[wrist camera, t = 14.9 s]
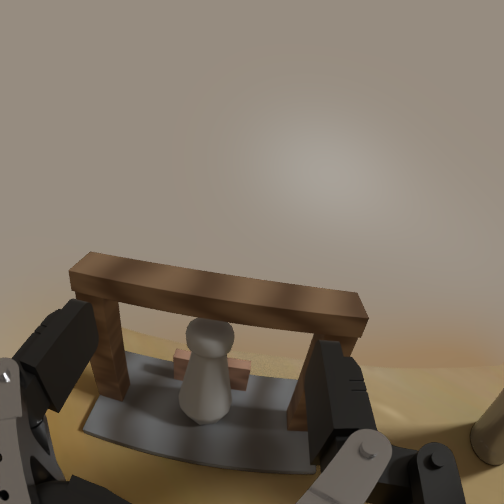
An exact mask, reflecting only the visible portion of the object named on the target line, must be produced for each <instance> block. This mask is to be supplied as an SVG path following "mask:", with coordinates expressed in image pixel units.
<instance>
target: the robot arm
mask: <svg viewBox="0 0 504 504" xmlns="http://www.w3.org/2000/svg"><path fill="white" fill-rule="evenodd" d="M98 342H99V334H98V330H97V325H96V321H95V316H94V311H93V306H92V304H91V303H89V302H85V301H81V300H77V299H71V300H69V301H68V303H67V304H66V305H65V306H64V307H63V308H62V309H58V310H56V311H55V312H53V313H51V314H50V315H48V316H47V317H46V318H45V319H44V321H43V322H42V323H41V325H40V326H39V327H38V328H37V329H36V330H35V332H34V333H32V334H31V336H30V337H29V338H28V339H27V340H26V342H25V343H24V344H23V345H22V346H21V348H20V349H19V350H18V351H17V352H16V354H15V355H14V356H13V357H12V358H0V504H131V503H129V502H128V501H126V500H124V499H122V498H121V497H119V496H117V495H116V494H114V493H112V492H111V491H109V490H108V489H106V488H104V487H102V486H99V485H96V484H94V483H91V482H89V481H86V480H84V479H81V478H79V477H77V476H74V475H72V476H71V479H70V481H66V480H65V477H64V475H63V473H62V471H61V469H60V467H59V466H58V464H57V461H56V458H55V454H54V450H53V446H52V442H51V437H50V432H49V427H48V422H47V418H46V415H45V413H46V411H47V409H50V410H52V411H55V412H57V413H59V412H60V410H61V408H62V407H63V405H64V403H65V401H66V400H67V398H68V396H69V394H70V393H71V391H72V389H73V387H74V386H75V384H76V382H77V381H78V379H79V377H80V376H81V374H82V372H83V371H84V369H85V367H86V366H87V364H88V363H89V361H90V359H91V358H92V356H93V354H94V353H95V351H96V349H97V347H98ZM304 389H305V401H306V414H307V427H308V442H309V458H310V465H320V469H321V475H320V476H319V477H318V478H317V480H316V481H315V482H314V483H313V484H312V486H311V487H310V488H309V489H308V490H307V491H306V493H305V494H304V495H303V496H302V497H301V498H300V499H299V500H298V502H297V503H296V504H364V503H365V502H366V503H372V504H466V502H465V497H464V493H463V488H462V484H461V480H460V476H459V472H458V469H457V465H456V461H455V458H454V455H453V453H452V452H451V450H450V449H449V448H448V447H447V446H445V445H443V444H441V443H436V442H432V443H428V444H426V445H424V446H423V447H422V448H421V449H420V450H419V451H417V450H411V449H406V448H401V447H396V446H393V445H391V443H390V441H389V440H388V439H387V437H386V436H385V435H383V434H382V433H380V432H378V431H377V428H376V424H375V420H374V416H373V412H372V408H371V404H370V400H369V397H368V393H367V392H366V390H367V389H366V386H365V382H364V378H363V375H362V371H361V368H360V367H359V365H358V364H357V363H356V362H355V360H354V359H353V358H352V357H344V356H343V352H342V348H341V344H340V342H339V341H327V340H317V341H316V343H315V346H314V349H313V352H312V355H311V358H310V361H309V364H308V367H307V370H306V374H305V380H304ZM470 436H471V443H472V447H473V449H474V451H475V452H476V454H477V455H478V456H479V457H480V458H481V459H482V460H483V461H484V462H486V463H488V464H491V465H501V464H503V463H504V389H503V390H502V391H501V393H500V394H499V395H498V397H497V398H496V399H495V401H494V402H493V403H492V404H491V406H490V407H489V408H488V409H487V410H486V412H485V413H484V414H483V415H482V416H481V418H480V419H479V420H478V421H477V422H476V423H475V425H474V426H473V427H472V430H471V435H470Z"/></svg>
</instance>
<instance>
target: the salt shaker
mask: <svg viewBox="0 0 504 504" xmlns="http://www.w3.org/2000/svg"><path fill="white" fill-rule="evenodd" d="M186 341H187V346H188V348H189V349H190V350H191V351H192V352H191V355H190V359H189V362H188V366H187V369H186V372H185V375H184V379H183V382H182V385H181V389H180V392H179V395H178V396H179V404H180V408H181V409H182V410H183V411H184V412H185V414H186V415H187V416H188V417H190V418H191V419H192V420H194V421H195V422H196V423H198V424H199V425H204V424H215V423H217V422H218V421H219V420H220V419H221V418H222V417H223V416H225V415H226V414H227V413H228V412H229V409H230V406H231V403H232V395H231V387H230V378H229V369H228V360H227V353H229V352H230V350H231V348H232V345H233V342H234V331H233V328H232V326H231V325H230V324H229V323H228V322H223V321H217V320H210V319H204V318H199V317H198V318H196V319H194V320H193V321H191V322H190V323H189V325H188V327H187V330H186Z"/></svg>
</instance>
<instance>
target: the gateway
mask: <svg viewBox="0 0 504 504" xmlns="http://www.w3.org/2000/svg"><path fill="white" fill-rule="evenodd" d="M69 276H70V283H71V289H72V291H75V294H76V299H77V300H81V301H85V302H89V303H91V304H92V306H93V311H94V316H95V321H96V325H97V330H98V334H99V342H98V347H97V349H96V351H95V353H94V354H93V356H92V358H91V359H90V363H91V367H92V370H93V374H94V377H95V381H96V384H97V387H98V390H99V394H100V396H99V398H98V400H97V402H96V404H95V406H94V407H93V409H92V411H91V413H90V415H89V417H88V419H87V421H86V424H85V426H84V428H83V431H84V433H86V434H89V435H92V436H94V437H97V438H100V439H103V440H106V441H109V442H112V443H115V444H118V445H121V446H124V447H127V448H131V449H134V450H138V451H141V452H145V453H149V454H153V455H157V456H161V457H165V458H169V459H174V460H178V461H183V462H188V463H194V464H199V465H205V466H211V467H218V468H225V469H233V470H241V471H251V472H263V473H280V474H315V472H316V465H310V458H309V442H308V427H307V414H306V401H305V389H304V380H305V374H306V370H307V367H308V364H309V361H310V358H311V355H312V352H313V349H314V346H315V343H316V341H317V340H327V341H339V342H340V344H341V348H342V352H343V356H344V357H350V355H351V353H352V351H353V348H354V346H355V344H356V341H357V339H358V337H360V338H361V336H362V334H363V332H364V329H365V327H366V324H367V322H368V319H369V317H368V315H367V313H366V311H365V309H364V306H363V304H362V302H361V300H360V298H359V296H358V293H355V292H347V291H339V290H331V289H324V288H317V287H309V286H302V285H295V284H288V283H280V282H273V281H267V280H259V279H253V278H246V277H240V276H233V275H226V274H220V273H213V272H207V271H201V270H194V269H188V268H182V267H176V266H170V265H164V264H158V263H152V262H146V261H140V260H134V259H129V258H123V257H117V256H112V255H106V254H101V253H95V252H89V253H88V254H87V255H86V256H85V257H84V258H82V259H81V260H80V261H79V262H78V263H76V264H75V265H74V266H73V267H72V268H71V269H70V270H69ZM118 302H122V303H127V304H131V305H136V306H141V307H145V308H150V309H156V310H161V311H166V312H171V313H176V314H182V315H187V316H193V317H199V318H204V319H210V320H217V321H223V322H229V323H236V324H243V325H250V326H257V327H264V328H272V329H280V330H288V331H296V332H305V333H314V335H313V339H312V341H311V344H310V347H309V350H308V353H307V356H306V359H305V362H304V365H303V368H302V370H301V373H300V376H299V379H298V380H293V379H283V378H273V377H264V376H256V375H249V374H250V369H251V361H247V360H240V359H233V358H227V360H228V369H229V378H230V387H231V395H232V403H231V406H230V409H229V412H228V413H227V414H226V415H225V416H223V417H222V418H221V419H220V420H219V421H218V422H217V423H215V424H204V425H199V424H198V423H196V422H195V421H194V420H192V419H191V418H190V417H188V416H187V415H186V414H185V412H184V411H183V410H182V409H181V408H180V404H179V396H178V395H179V392H180V389H181V385H182V382H183V379H184V375H185V372H186V369H187V366H188V362H189V359H190V355H191V351H186V350H180V349H176V351H175V354H174V357H173V361H174V362H171V361H166V360H162V359H157V358H153V357H148V356H144V355H140V354H136V353H132V352H128V351H125V350H124V343H123V336H122V329H121V321H120V313H119V304H118Z"/></svg>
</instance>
